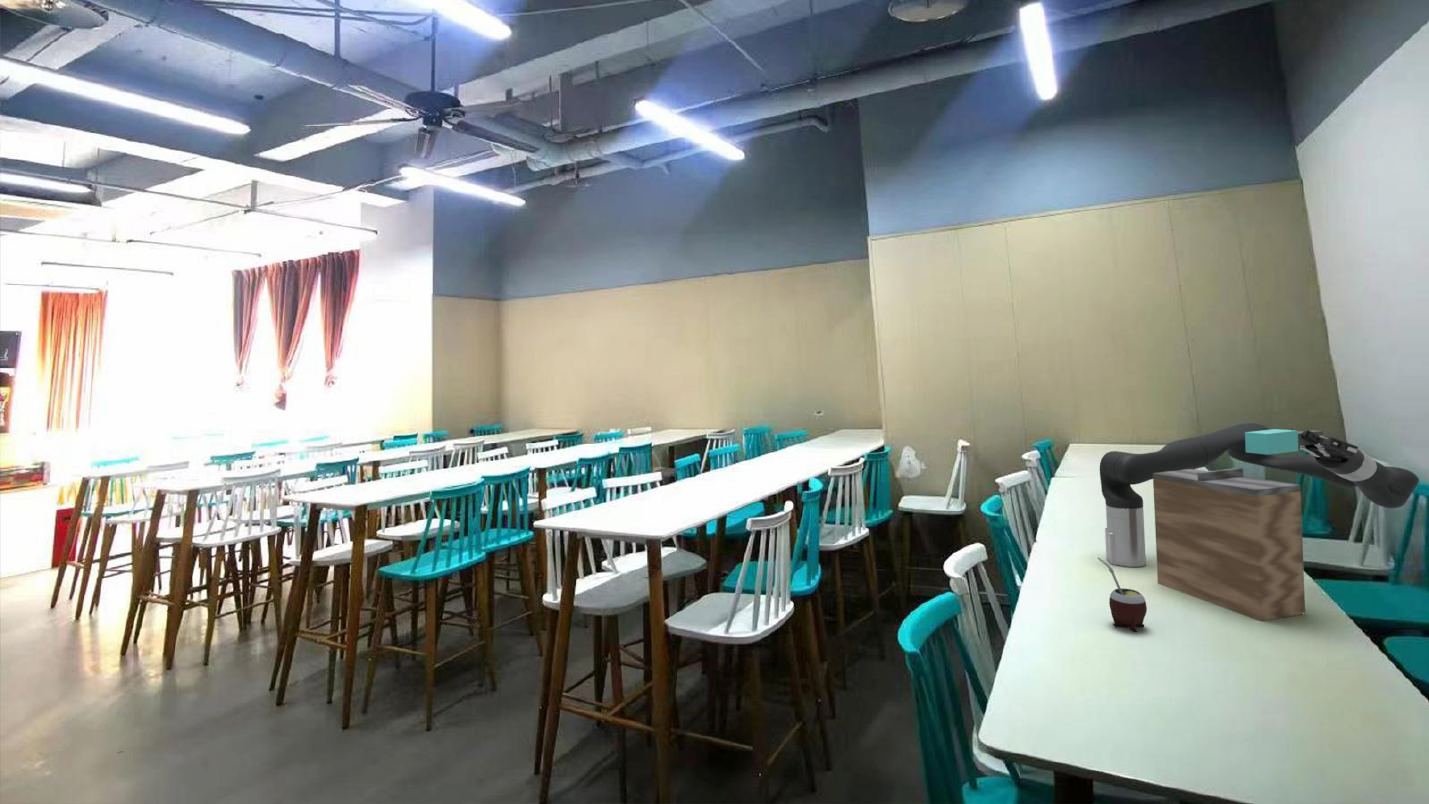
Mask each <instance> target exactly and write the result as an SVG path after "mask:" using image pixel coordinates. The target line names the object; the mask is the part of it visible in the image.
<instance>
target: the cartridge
mask: <svg viewBox="0 0 1429 804" xmlns="http://www.w3.org/2000/svg"><path fill="white" fill-rule="evenodd" d="M1308 430H1309V431H1311V432H1313V433H1315V434H1316V435H1318V436H1324V430H1314V429H1312V430H1311V429H1308ZM1303 431H1304V430H1300V431H1299V430H1297V429H1296V430H1294V429H1293V430H1288V429H1277V428H1274V429H1273V428H1272V429H1269V430H1262V431H1253V432H1245V445H1246V452H1247V453H1257V454H1267V455H1269V454H1271V455H1276V454H1285V453H1293V452H1294V453H1295V452H1299V450H1298V446H1302V445H1311V444H1312V443H1310V442H1308V441H1307V440H1305V439H1303V438H1302V434H1303Z"/></svg>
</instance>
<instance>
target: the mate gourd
mask: <svg viewBox="0 0 1429 804" xmlns="http://www.w3.org/2000/svg"><path fill="white" fill-rule="evenodd" d="M1097 559H1098V560H1099V561H1100V562H1101V563H1102V564H1104V565H1105V566H1106V567H1107V568H1108V571H1109V573H1110V574H1111V576H1112V578H1113V581H1114V582H1115V583H1114V584H1115V585H1116V587H1117V588H1115V589H1114V590H1112V591H1111V593H1109V609H1110V612H1111V613H1110V614H1111V617H1112V620H1113V622H1114V623H1112V626H1113V627H1114V626H1115V627H1114V628H1128V627H1129V628H1130V629H1131V630H1130V629H1129V628H1128V629H1129V630H1130V631H1132V632H1133V633H1137V632H1138V630H1137V629H1136V628H1145V624H1144V620H1145V617H1146V615H1147V612H1148V611H1147V610H1148V608H1147V602H1146V599H1145V597H1144V595H1143V594H1142V593H1141V592H1140V591H1138V590H1135V589H1132V588H1124V587H1123V588H1121V585H1120V583H1119V581H1118V580H1117V577H1116V575H1115V573H1114V572H1115V571H1114V569H1113V567H1111V566H1110V565H1109V564H1108V563H1107V562H1106V561H1105V560H1103V559H1101V557H1097Z"/></svg>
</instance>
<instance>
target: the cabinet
mask: <svg viewBox="0 0 1429 804" xmlns="http://www.w3.org/2000/svg"><path fill="white" fill-rule="evenodd" d="M1152 485H1153V486H1152V487H1153V502H1154V503H1153V504H1154V527H1155V528H1154V529H1155V550H1156V551H1155V552H1156V570H1157V571H1156V572H1157V573H1156V574H1157V584H1159V585H1162V586H1165V587H1168V588H1169V589H1173V590H1175V591H1178V592H1181V593H1184V594H1187V595H1189V596H1192V597H1194V598H1196V599H1200V600H1203V601H1205V602H1208V603H1211V604H1213V605H1216V606H1219V607H1222V608H1224V609H1227V610H1230V611H1233V612H1235V613H1238V614H1241V615H1243V616H1246V617H1249V618H1252V619H1255V620H1257V621H1260V622H1263V621H1269V620H1270V621H1271V620H1276V619H1282V618H1289V617H1294V616H1295V615H1296V616H1300V615H1299V614H1303V613H1305V614H1306V604H1305V603H1306V600H1305V597H1306V596H1305V574H1304V549H1303V548H1304V545H1303V543H1304V542H1303V518H1302V515H1303V514H1302V491H1301V490H1302V489H1301V487H1302V486H1301V484H1299V483H1291V482H1283V481H1278V480H1270V479H1263V478H1258V477H1257V478H1256V477H1250V476H1244V468H1241V467H1237V468H1236V467H1235V468H1225V469H1224V468H1223V469H1216V470H1201V469H1186V470H1177V471H1168V472H1159V473H1153V479H1152ZM1303 615H1304V614H1303ZM1296 616H1295V617H1296Z"/></svg>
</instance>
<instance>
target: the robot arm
mask: <svg viewBox="0 0 1429 804" xmlns="http://www.w3.org/2000/svg"><path fill="white" fill-rule="evenodd" d="M1262 430H1270V429H1269V427H1268V426H1266V425H1263V424H1260V423H1253V422H1252V423H1249V422H1248V423H1240V424H1235V425H1231V426H1229V427H1226V428H1223V429H1219V430H1216V431H1214V432H1210V433H1206V434H1202V435H1198V436H1193V437H1187V438H1183V439H1178V440H1175V441H1171V442H1169V443H1167V444H1166V445H1165V446H1163V447H1162V448H1161V449H1160V450H1157V451H1152V452H1151V451H1150V452H1146V453H1145V452H1143V453H1132V452H1125V451H1115V450H1113V451H1108V452H1106V453H1105V454H1104V455H1103V456H1102V457H1101V459H1100V463H1099V478H1100V485H1101V493H1102V496H1103V498H1104V501H1105V515H1106V517H1105V518H1106V527H1105V528H1104V534H1105V535H1104V537H1105V539H1104V540H1105V556H1106V560H1107V561H1108V563H1110V564H1111V565H1115V566H1120V567H1127V568H1129V567H1130V568H1135V567H1136V568H1140V567H1143V566H1144V567H1145V566H1146V564H1147V554H1146V535H1145V518H1144V517H1145V514H1144V513H1145V512H1144V500H1143V497H1142V496H1141V495H1140V494H1139V493H1137V492H1136V491H1135V490H1134V489H1133V487H1132V486H1131V485H1139V484H1143V483H1145V482H1148V481H1150V480H1153V473H1159V472H1168V471H1177V470H1186V469H1195V470H1198V469H1202V468H1204V467H1207V466H1208V465H1211V464H1212V463H1214V462H1215V461H1216V460H1217V459H1219V458H1220V457H1221V456H1223V454H1225V453H1227V454H1228V456H1229V457H1230V458H1233V459H1234V460H1237V461H1240V462H1243V463H1248V464H1250V465H1251V464H1252V465H1255V466H1261V467H1266V468H1270V469H1276V470H1280V471H1285V472H1291V473H1295V474H1300V475H1304V476H1308V477H1312V478H1315V479H1318V480H1320V481H1321V480H1322V481H1323V482H1328V483H1331V484H1334V485H1336V486H1337V485H1338V486H1341V487H1343V488H1347V489H1354V488H1356V487H1357V488H1358V489H1359V490H1360V492H1361V493H1362V495H1364V496H1365V498H1366V499H1368V500H1369V501H1370V502H1371V503H1373V504H1375V505H1377V506H1379V507H1383V508H1386V509H1398V508H1401V507H1403V506H1404V505H1405V504H1406V503H1407V501H1408V500H1409V499H1410V497H1411V495H1412V494H1413V492H1414V490H1415V488H1417V486H1418V485H1419V482H1420V479H1419V477H1418V476H1417V475H1416V474H1415V473H1414V472H1413V471H1412V470H1411V471H1410V470H1409V469H1406V468H1402V467H1396V466H1386V465H1383V464H1382V463H1380V462H1378V461H1377V460H1375V459H1374V458H1372V457H1370V456H1369V455H1368V454H1366V453H1365V452H1364V451H1362V450H1361V449H1359V446H1356V445H1354V444H1351V443H1349V442H1346V441H1344V440H1343V441H1342V440H1340V439H1338V438H1335V437H1332V436H1328V438H1327V437H1325V436H1324V435H1323V436H1318V435H1316V434H1315V433H1313V432H1311V431H1309V430H1310V429H1304V430H1302V431H1303V434H1302V438H1303V439H1305V440H1307V441H1308V442H1310V443H1312V444H1311V445H1302V446H1298V451H1300V450H1301V451H1302V450H1303V451H1304V452H1306V453H1307V454H1304V455H1303V454H1302V455H1297V456H1295V455H1294V456H1280V455H1279V456H1278V455H1275V454H1269V455H1267V454H1257V453H1247V452H1246V445H1245V432H1253V431H1262ZM1287 430H1294V429H1293V428H1288V429H1287Z"/></svg>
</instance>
